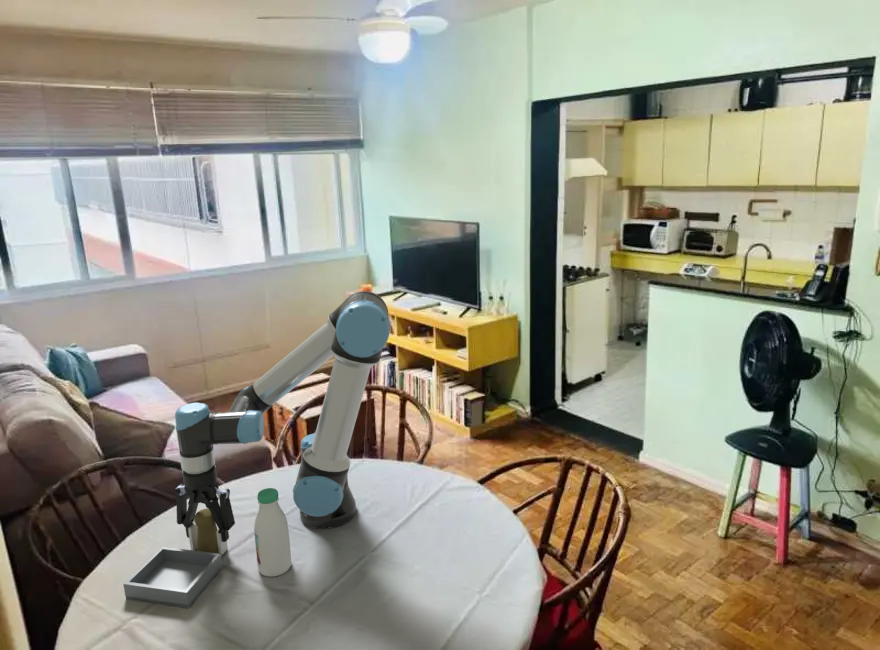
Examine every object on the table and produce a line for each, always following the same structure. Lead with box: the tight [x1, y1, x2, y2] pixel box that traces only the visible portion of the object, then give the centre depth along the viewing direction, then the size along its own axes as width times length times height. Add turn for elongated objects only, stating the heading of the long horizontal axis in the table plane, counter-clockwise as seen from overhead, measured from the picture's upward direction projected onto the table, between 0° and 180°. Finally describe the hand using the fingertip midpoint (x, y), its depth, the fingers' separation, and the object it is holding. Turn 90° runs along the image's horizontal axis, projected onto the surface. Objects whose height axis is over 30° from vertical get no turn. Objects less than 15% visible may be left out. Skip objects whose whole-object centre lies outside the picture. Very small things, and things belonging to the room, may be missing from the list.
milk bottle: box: [253, 487, 292, 578], centre depth 143 cm, size 8×8×20 cm
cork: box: [194, 507, 219, 554], centre depth 150 cm, size 6×6×11 cm
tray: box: [123, 546, 223, 609], centre depth 140 cm, size 16×14×4 cm
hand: (209, 549), depth 152 cm, fingers open, 7 cm apart
